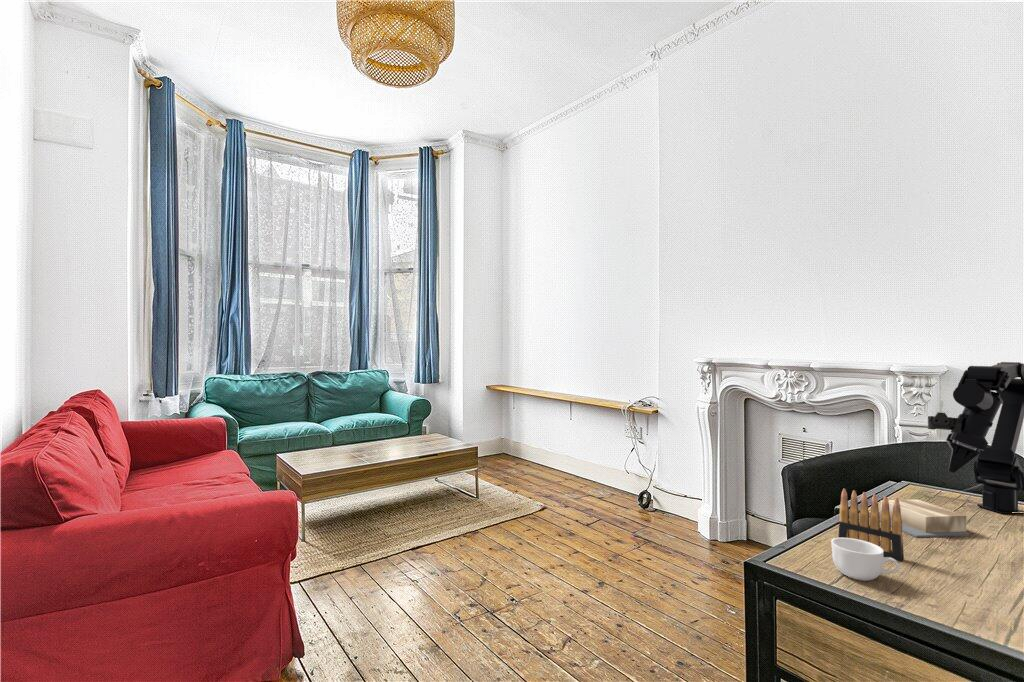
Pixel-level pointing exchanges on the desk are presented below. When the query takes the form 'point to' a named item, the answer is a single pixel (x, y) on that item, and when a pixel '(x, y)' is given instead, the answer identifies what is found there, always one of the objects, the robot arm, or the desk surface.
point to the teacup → (859, 559)
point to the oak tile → (928, 516)
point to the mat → (920, 533)
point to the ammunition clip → (872, 524)
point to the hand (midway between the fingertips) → (951, 472)
